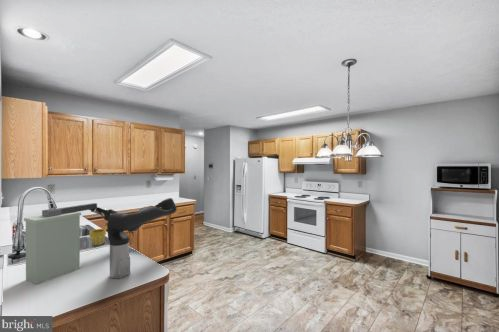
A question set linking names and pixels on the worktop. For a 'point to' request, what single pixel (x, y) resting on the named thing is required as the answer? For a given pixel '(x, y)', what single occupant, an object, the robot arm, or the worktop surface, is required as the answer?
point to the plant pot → (98, 236)
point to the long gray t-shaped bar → (68, 210)
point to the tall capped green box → (52, 246)
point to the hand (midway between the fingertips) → (92, 208)
